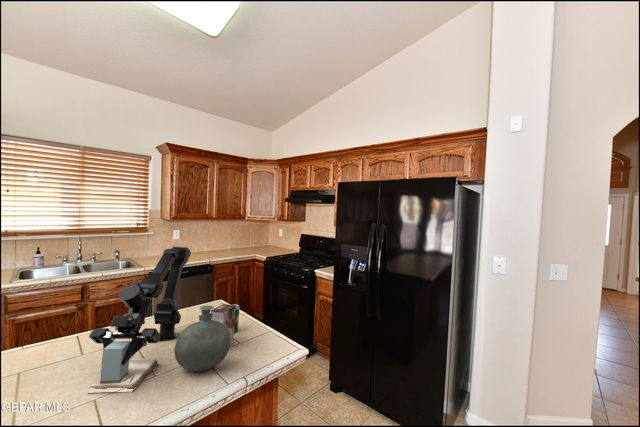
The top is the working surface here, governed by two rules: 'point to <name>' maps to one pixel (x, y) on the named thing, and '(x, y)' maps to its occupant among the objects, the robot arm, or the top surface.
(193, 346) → the flask
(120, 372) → the block
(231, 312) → the coffee box
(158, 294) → the robot arm
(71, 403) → the top surface
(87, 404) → the top surface
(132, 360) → the board
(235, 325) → the soda can
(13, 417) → the top surface
